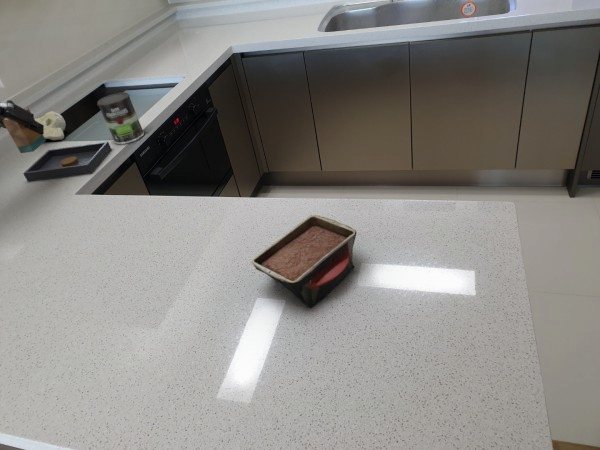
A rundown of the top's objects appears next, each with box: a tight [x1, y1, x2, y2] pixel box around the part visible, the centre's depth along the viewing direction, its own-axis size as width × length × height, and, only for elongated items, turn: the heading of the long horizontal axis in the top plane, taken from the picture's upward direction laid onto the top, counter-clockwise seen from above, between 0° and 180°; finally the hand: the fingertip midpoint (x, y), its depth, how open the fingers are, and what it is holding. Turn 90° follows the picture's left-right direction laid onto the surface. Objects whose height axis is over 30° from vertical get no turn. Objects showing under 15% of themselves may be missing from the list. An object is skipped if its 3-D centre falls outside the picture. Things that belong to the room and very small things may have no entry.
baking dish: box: [251, 214, 357, 309], centre depth 84 cm, size 14×18×10 cm
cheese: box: [34, 110, 67, 141], centre depth 169 cm, size 15×7×15 cm
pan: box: [22, 141, 113, 182], centre depth 146 cm, size 22×16×3 cm
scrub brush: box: [2, 107, 47, 154], centre depth 129 cm, size 4×7×10 cm, turn 176°
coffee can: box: [96, 92, 145, 145], centre depth 154 cm, size 10×10×14 cm
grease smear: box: [61, 157, 78, 167], centre depth 146 cm, size 5×5×1 cm
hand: (35, 130), depth 133 cm, fingers closed on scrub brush, 4 cm apart
